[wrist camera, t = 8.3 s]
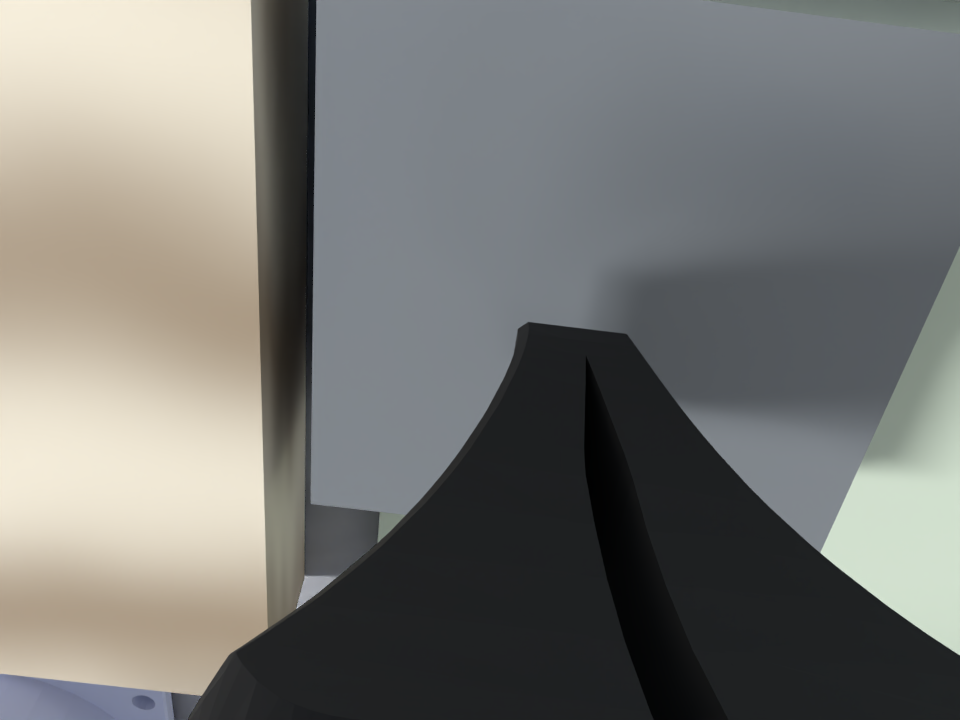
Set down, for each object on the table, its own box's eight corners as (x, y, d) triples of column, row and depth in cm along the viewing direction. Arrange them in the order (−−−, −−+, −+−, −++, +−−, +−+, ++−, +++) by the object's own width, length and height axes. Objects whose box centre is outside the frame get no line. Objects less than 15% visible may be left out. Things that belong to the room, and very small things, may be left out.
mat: (992, 717, 20) (1000, 733, 20) (372, 648, 20) (368, 663, 19) (1838, -478, 9) (1886, -488, 9) (466, -684, 9) (464, -701, 8)
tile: (782, 471, 16) (816, 562, 14) (336, 418, 16) (311, 503, 14) (968, 1, 12) (1051, 45, 10) (351, -80, 11) (317, -51, 10)
